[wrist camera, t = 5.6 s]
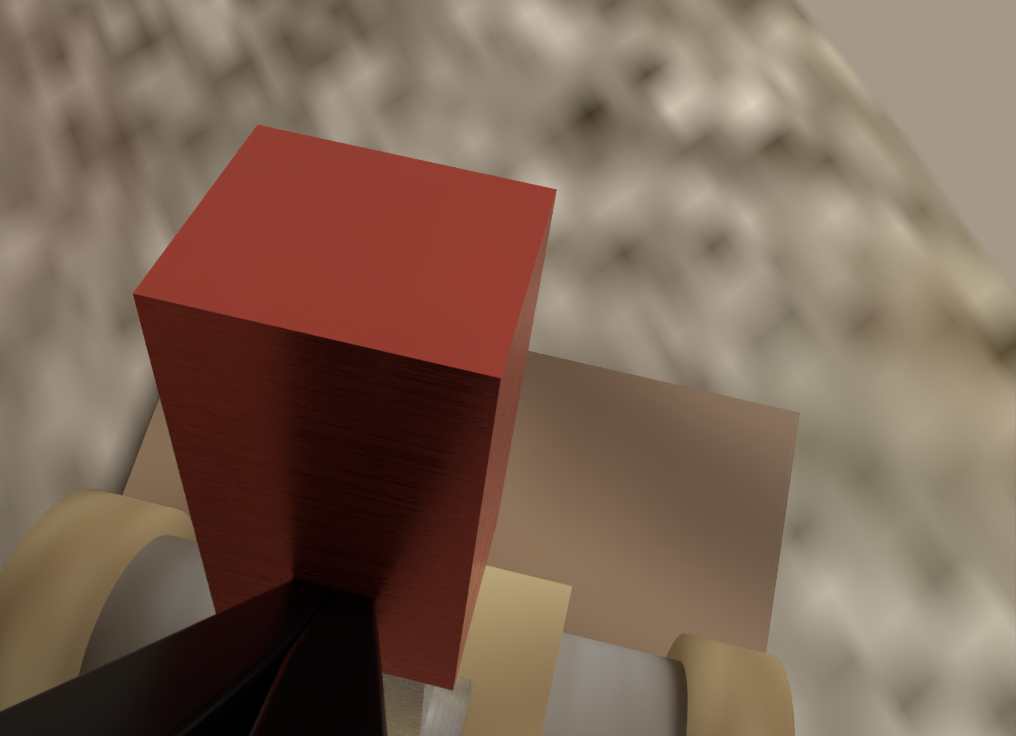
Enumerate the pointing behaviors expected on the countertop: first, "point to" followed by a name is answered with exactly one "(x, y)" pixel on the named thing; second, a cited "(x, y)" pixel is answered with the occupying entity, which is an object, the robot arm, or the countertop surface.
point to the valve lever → (351, 387)
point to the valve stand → (499, 566)
